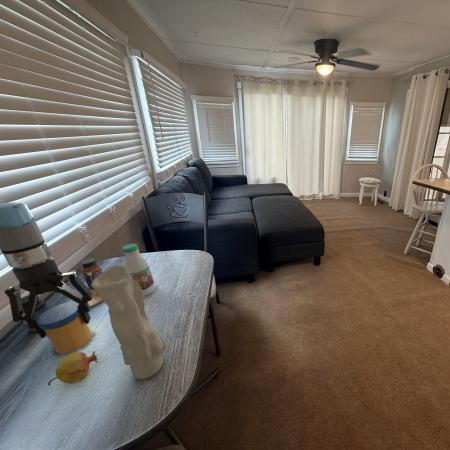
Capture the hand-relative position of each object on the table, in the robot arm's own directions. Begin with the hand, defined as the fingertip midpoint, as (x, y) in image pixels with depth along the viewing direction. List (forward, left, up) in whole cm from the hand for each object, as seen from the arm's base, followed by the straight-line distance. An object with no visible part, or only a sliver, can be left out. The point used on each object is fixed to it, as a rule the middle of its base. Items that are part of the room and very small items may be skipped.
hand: (67, 327), depth 70 cm
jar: (0, 0, -6) cm, 6 cm away
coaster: (-11, +20, -6) cm, 23 cm away
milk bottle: (+7, +24, -6) cm, 26 cm away
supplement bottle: (-16, +29, -6) cm, 34 cm away
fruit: (+11, -11, -6) cm, 17 cm away
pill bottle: (-17, +7, -6) cm, 19 cm away
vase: (+29, -9, -6) cm, 31 cm away
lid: (0, 0, +5) cm, 5 cm away
